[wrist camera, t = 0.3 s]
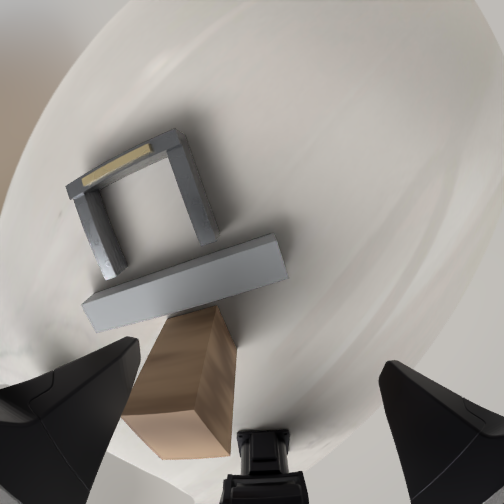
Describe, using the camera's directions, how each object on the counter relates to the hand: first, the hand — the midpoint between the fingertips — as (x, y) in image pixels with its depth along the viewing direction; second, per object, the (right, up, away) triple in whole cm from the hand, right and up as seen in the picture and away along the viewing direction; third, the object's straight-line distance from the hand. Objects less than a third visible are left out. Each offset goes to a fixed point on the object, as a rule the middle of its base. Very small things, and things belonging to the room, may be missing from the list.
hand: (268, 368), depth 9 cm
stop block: (-5, -4, +16) cm, 17 cm away
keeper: (-9, +7, +13) cm, 17 cm away
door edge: (-7, +1, +14) cm, 16 cm away
